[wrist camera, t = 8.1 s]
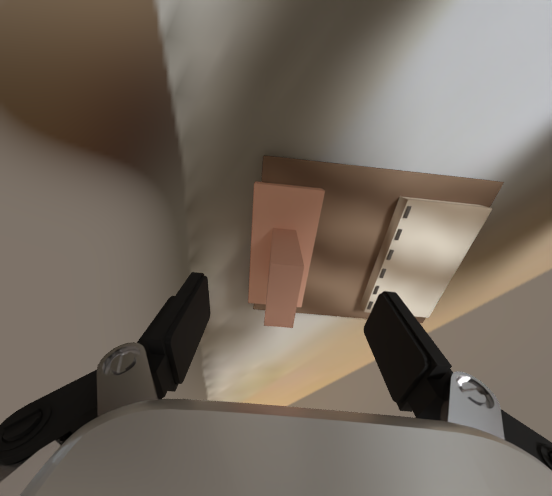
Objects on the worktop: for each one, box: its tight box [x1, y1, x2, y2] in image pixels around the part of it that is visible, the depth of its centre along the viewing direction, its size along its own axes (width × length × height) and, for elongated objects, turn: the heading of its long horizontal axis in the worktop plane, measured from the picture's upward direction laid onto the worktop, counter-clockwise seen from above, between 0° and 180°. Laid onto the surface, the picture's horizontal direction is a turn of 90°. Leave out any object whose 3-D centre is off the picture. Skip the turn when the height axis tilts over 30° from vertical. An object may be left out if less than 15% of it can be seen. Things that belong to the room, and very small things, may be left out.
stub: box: [248, 182, 325, 328], centre depth 16 cm, size 12×6×7 cm, turn 174°
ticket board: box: [253, 155, 504, 323], centre depth 20 cm, size 16×20×3 cm
